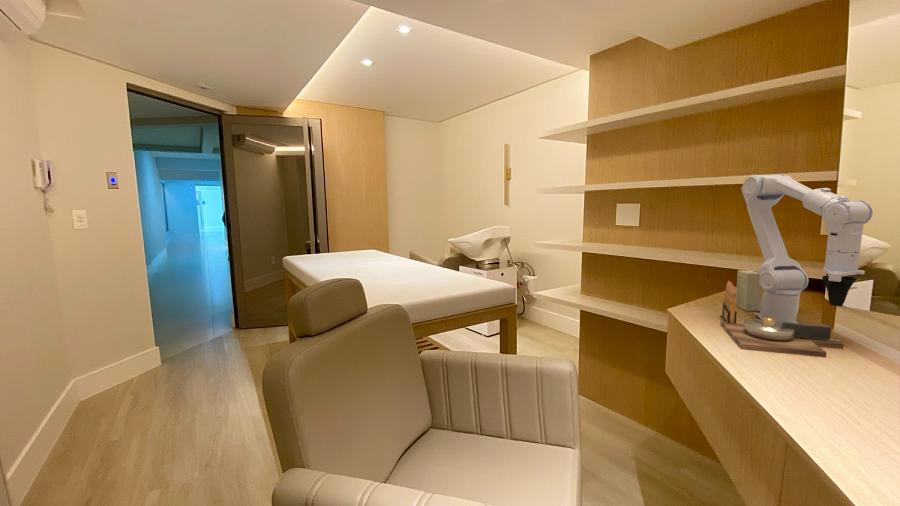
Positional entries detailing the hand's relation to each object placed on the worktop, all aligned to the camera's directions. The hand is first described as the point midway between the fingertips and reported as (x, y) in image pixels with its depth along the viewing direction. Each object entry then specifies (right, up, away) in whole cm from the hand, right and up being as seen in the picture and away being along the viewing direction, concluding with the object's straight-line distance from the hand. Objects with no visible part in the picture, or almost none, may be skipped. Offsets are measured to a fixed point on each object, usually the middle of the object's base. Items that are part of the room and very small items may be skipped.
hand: (836, 305), depth 94 cm
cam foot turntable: (-11, -8, +2) cm, 13 cm away
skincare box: (+1, -5, +30) cm, 30 cm away
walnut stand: (-11, -9, +3) cm, 15 cm away
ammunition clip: (-14, -8, +18) cm, 24 cm away
